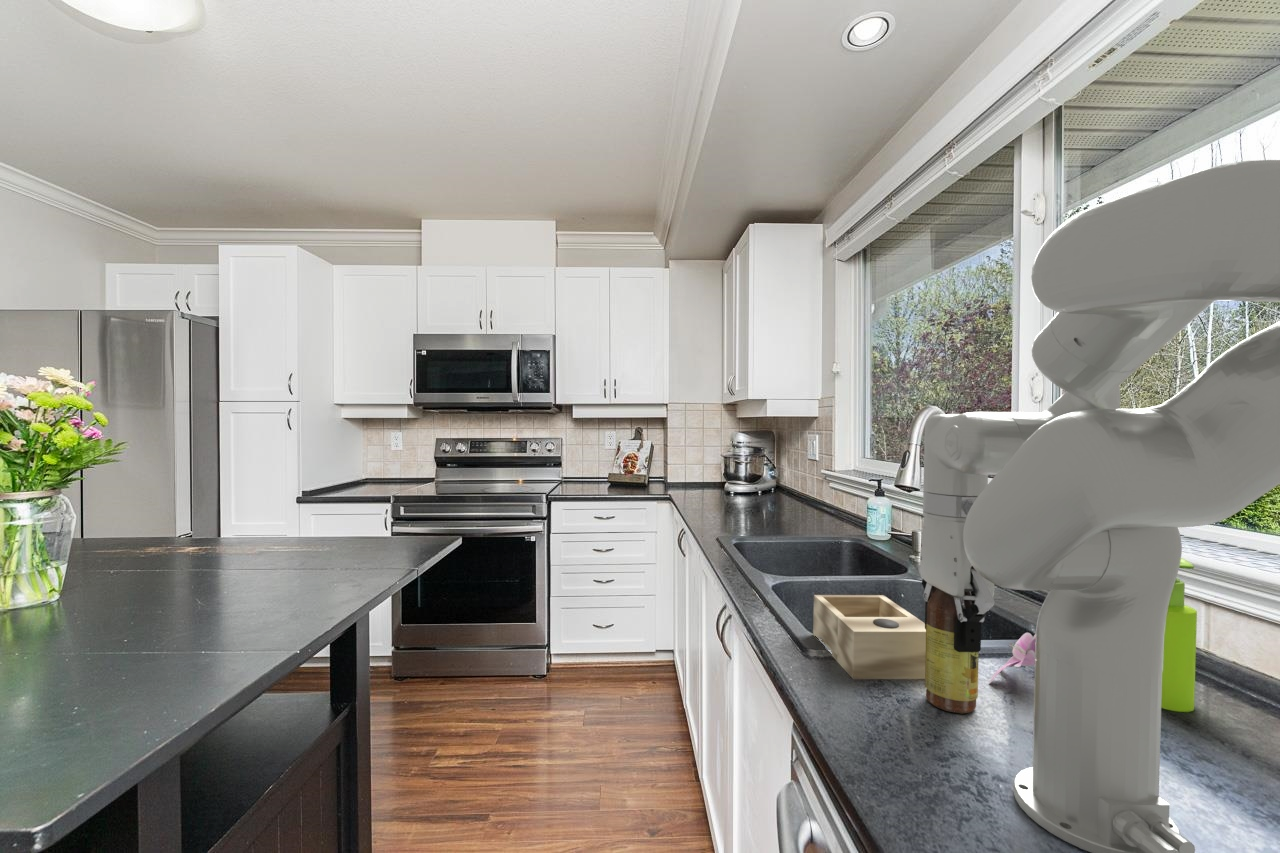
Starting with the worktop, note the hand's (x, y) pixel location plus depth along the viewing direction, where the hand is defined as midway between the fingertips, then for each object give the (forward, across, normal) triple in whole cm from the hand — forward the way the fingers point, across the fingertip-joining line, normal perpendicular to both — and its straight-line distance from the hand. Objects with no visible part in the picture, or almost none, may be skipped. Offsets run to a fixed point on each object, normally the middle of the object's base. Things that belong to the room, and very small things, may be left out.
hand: (951, 639), depth 77 cm
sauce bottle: (+9, 0, 0) cm, 9 cm away
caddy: (+9, +16, +4) cm, 19 cm away
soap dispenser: (+9, 0, -30) cm, 31 cm away
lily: (+9, +6, -14) cm, 18 cm away
